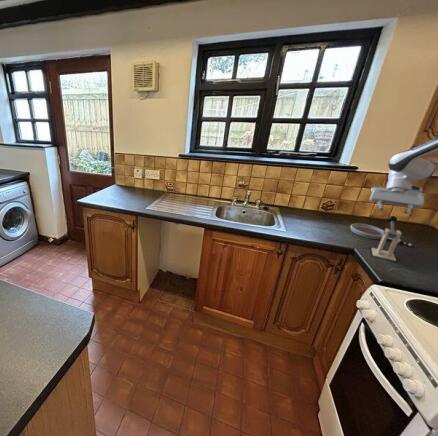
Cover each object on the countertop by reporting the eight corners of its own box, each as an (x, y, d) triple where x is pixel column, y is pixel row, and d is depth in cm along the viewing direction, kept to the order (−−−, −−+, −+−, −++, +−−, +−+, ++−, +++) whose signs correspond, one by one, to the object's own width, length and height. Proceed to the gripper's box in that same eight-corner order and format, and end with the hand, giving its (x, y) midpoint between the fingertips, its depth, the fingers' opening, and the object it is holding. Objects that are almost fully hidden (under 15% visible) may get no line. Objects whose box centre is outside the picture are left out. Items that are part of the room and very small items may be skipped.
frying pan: (410, 247, 126) (346, 226, 146) (407, 252, 127) (344, 231, 148) (416, 238, 135) (356, 220, 156) (414, 243, 137) (354, 224, 157)
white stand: (371, 249, 127) (381, 225, 122) (391, 254, 123) (402, 229, 118) (373, 257, 120) (384, 232, 115) (395, 262, 116) (407, 236, 110)
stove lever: (386, 218, 126) (389, 213, 124) (395, 220, 124) (398, 215, 122) (385, 237, 118) (388, 232, 116) (395, 239, 117) (398, 234, 114)
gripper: (373, 182, 132) (369, 203, 128) (427, 188, 121) (424, 212, 117) (370, 189, 137) (365, 209, 133) (421, 195, 126) (417, 218, 122)
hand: (393, 210), depth 125 cm, fingers open, 8 cm apart
